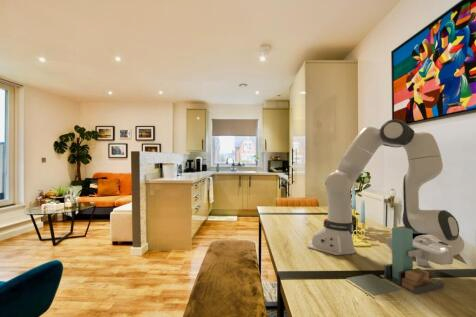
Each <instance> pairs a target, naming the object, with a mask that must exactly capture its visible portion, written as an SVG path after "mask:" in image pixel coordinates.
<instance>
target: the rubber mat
mask: <svg viewBox="0 0 476 317" xmlns="http://www.w3.org/2000/svg"><path fill="white" fill-rule="evenodd" d="M345 281H346V282H347V283H349V284H350V285H351V286H354V287H355V288H356V289H358V290H360V291H362V293H364V294H366V295H368V296H369V297H371V298H373V300H375V299H376V297H375V296H380V295H384V294H389V293H393V292H398V291H402V290H403V288H402V289H401V287H400V288H399V287H398V286H397V285H394V284H392V283H390V282H388V281H387V280H386V279H385V280H384V278H382V277H380V276H377V275H375V274H373V273H369V274H363V275H357V276H351V277H350V276H349V277H346V280H345ZM361 288H362V289H361ZM370 294H371V295H370Z"/></svg>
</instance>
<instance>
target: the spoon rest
mask: <svg viewBox="0 0 476 317" xmlns="http://www.w3.org/2000/svg"><path fill="white" fill-rule="evenodd" d="M387 247H388V248H389V249H390V250H391V251H392V247H390V246H388V245H387ZM415 259H416V260H415V261H416V264H415V265H416V266H419V267H420V266H421V267H428V268H429V267H430V264H429V261H428V260H425V259H422V258H420V257H415Z"/></svg>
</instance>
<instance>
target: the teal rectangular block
mask: <svg viewBox="0 0 476 317" xmlns="http://www.w3.org/2000/svg"><path fill="white" fill-rule="evenodd" d="M391 231H392V232H391V237H392V250H391V252H392V254H391V255H392V256H391V259H392V261H391V262H392V263H391V264H392V277H394V278H396V279H398V280H399V273H398V272H400V271H405V270H411V269H414V265H413V263H414V262H413V261H414V256H412V257H410V256H408V255H406V250H411V251H413V240H414V238H413V234H414V233H413V230H412V229H408V228H406V227H405V226H399V227H397V226H396V227H392V228H391Z"/></svg>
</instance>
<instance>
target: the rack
mask: <svg viewBox="0 0 476 317" xmlns="http://www.w3.org/2000/svg"><path fill="white" fill-rule="evenodd" d="M383 268H384V269H383V271H384V272H383V274H381V275H379V277H380V278H382V279H385V280H386V281H389V282H391V284H392V283H393V285H394V284H395V286H397V287H398V286H399V287H400V288H402V289H404V290H406V291H408V292H410V293H412V294H414V295H420V294H424V293H430V292H432V291H433V292H434V291H438V290H443V289H444V288H445V287H444V286H445V283H444V281H442V280H441V281H436V282H433V283H430V284H425V285H420V286H416V287H413V291H411V290H409V289H407V288H405V287H404V286H402V278H405V271H409V270H405V271H400V272H398V273H399V280H398V279H396V278H394V277H392V263H390V264H384V265H383ZM418 268H419V269H421V268H420V267H418ZM411 270H412V269H411Z"/></svg>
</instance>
